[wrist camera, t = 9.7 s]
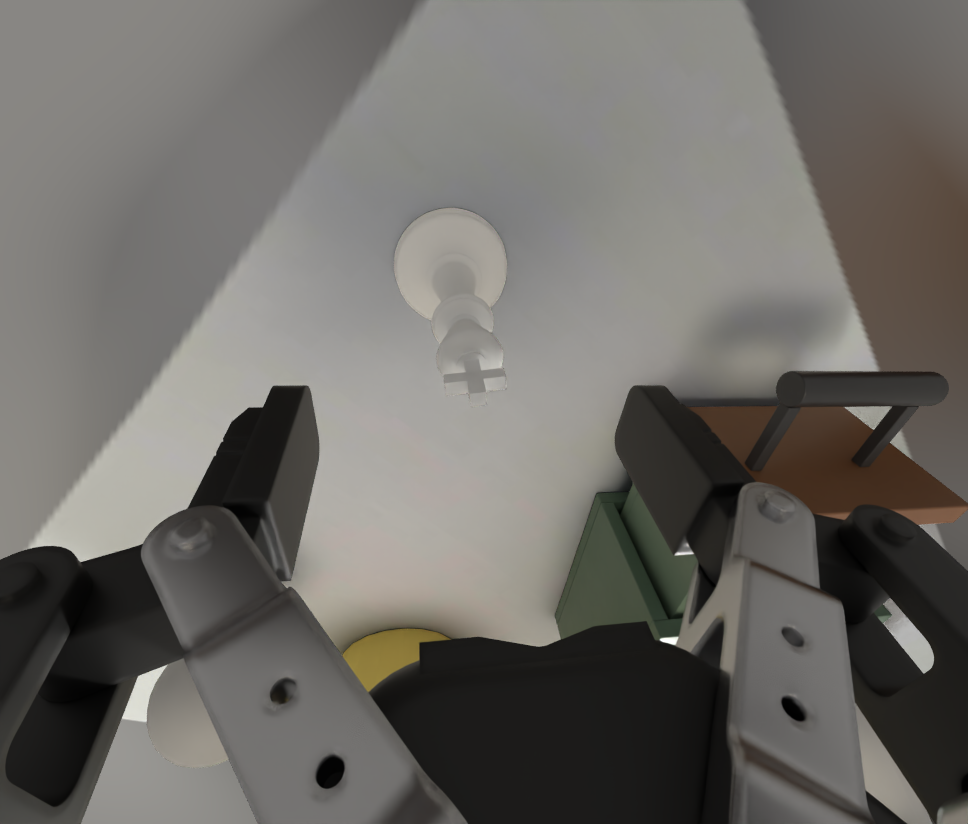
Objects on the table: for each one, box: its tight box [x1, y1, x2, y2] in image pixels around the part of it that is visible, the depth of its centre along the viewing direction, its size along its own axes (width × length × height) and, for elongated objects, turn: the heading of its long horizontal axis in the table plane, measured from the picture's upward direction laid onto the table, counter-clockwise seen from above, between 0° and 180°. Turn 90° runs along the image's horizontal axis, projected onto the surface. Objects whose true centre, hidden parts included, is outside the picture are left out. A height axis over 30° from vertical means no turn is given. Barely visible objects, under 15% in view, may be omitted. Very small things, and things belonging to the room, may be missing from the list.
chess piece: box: [394, 208, 507, 407], centre depth 16 cm, size 5×5×10 cm
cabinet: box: [555, 492, 892, 645], centre depth 32 cm, size 16×14×10 cm
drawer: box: [620, 371, 968, 620], centre depth 25 cm, size 20×13×8 cm, turn 175°
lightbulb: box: [147, 658, 229, 768], centre depth 26 cm, size 6×6×11 cm
